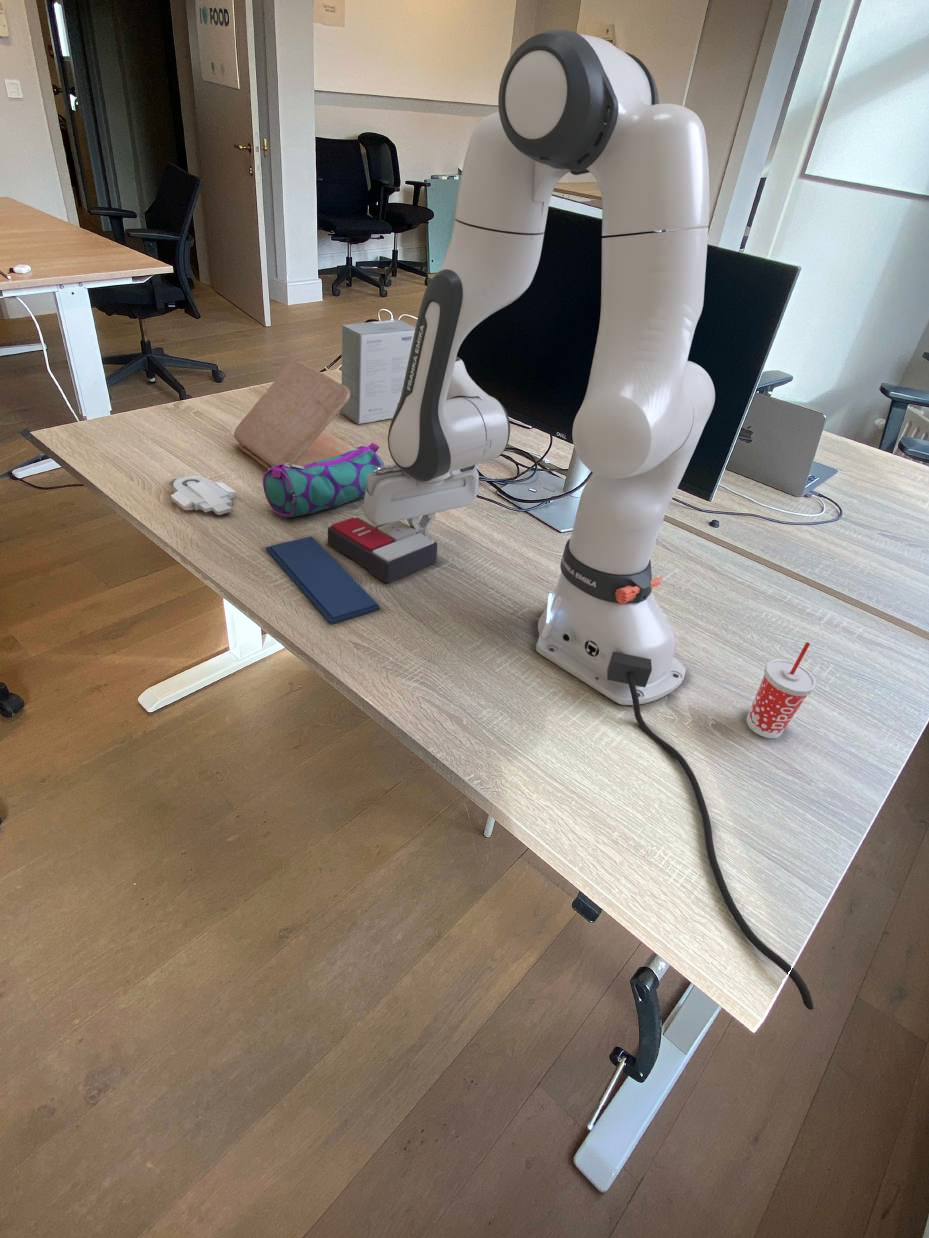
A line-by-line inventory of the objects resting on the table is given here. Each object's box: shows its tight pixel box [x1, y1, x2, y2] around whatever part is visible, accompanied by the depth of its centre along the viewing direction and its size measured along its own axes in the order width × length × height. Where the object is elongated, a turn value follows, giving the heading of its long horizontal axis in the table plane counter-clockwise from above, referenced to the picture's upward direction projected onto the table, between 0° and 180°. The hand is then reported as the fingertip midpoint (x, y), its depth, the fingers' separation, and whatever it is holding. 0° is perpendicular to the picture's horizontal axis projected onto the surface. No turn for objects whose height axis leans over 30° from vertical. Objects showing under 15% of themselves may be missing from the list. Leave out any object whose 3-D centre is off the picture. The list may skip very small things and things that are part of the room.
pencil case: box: [262, 442, 385, 518], centre depth 123 cm, size 21×9×10 cm, turn 135°
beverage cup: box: [746, 641, 817, 739], centre depth 88 cm, size 6×6×14 cm
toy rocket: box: [170, 475, 237, 516], centre depth 121 cm, size 16×10×2 cm, turn 47°
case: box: [233, 360, 358, 470], centre depth 135 cm, size 20×21×16 cm
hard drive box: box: [341, 319, 416, 425], centre depth 157 cm, size 16×8×20 cm, turn 130°
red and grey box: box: [327, 513, 438, 584], centre depth 113 cm, size 11×4×15 cm
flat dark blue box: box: [265, 536, 381, 625], centre depth 106 cm, size 22×8×1 cm, turn 36°
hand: (418, 535), depth 117 cm, fingers closed
